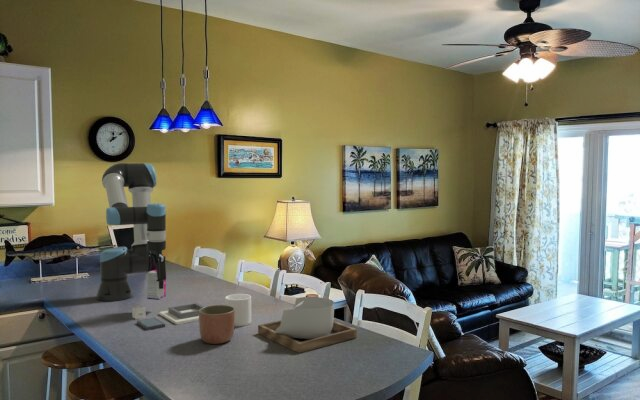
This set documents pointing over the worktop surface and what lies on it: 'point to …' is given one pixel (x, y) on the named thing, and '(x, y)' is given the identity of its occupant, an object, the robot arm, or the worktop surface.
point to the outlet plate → (182, 313)
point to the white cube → (138, 312)
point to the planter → (216, 323)
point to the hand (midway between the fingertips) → (156, 293)
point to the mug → (240, 308)
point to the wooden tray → (342, 335)
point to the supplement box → (153, 286)
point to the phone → (150, 323)
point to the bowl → (308, 318)
